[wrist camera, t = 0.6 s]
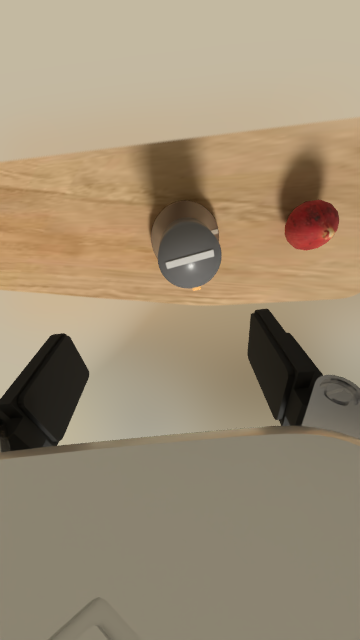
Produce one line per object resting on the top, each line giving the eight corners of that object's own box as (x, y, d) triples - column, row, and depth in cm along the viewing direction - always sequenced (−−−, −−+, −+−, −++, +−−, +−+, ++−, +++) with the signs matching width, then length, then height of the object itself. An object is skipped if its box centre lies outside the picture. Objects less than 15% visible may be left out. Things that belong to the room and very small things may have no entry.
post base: (210, 191, 27) (217, 192, 23) (221, 260, 32) (228, 271, 28) (142, 212, 28) (137, 217, 24) (163, 275, 33) (162, 289, 29)
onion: (269, 215, 29) (298, 225, 22) (310, 188, 27) (355, 190, 21) (282, 249, 32) (312, 267, 25) (320, 227, 30) (362, 239, 23)
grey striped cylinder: (208, 210, 24) (216, 216, 19) (218, 273, 28) (227, 289, 24) (152, 226, 24) (148, 235, 20) (171, 285, 29) (171, 303, 25)
